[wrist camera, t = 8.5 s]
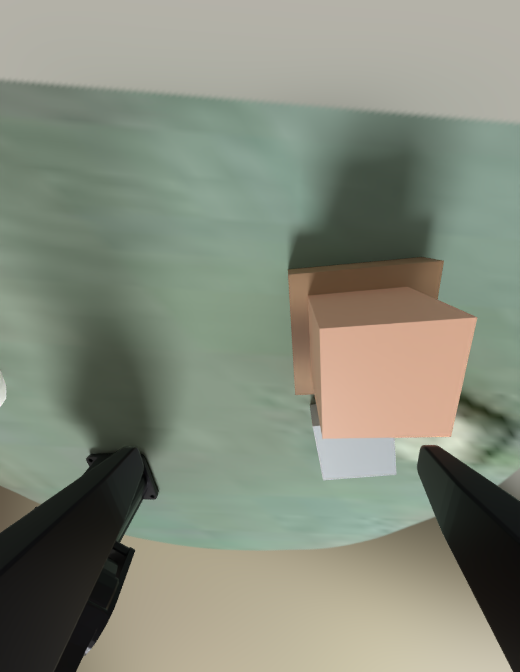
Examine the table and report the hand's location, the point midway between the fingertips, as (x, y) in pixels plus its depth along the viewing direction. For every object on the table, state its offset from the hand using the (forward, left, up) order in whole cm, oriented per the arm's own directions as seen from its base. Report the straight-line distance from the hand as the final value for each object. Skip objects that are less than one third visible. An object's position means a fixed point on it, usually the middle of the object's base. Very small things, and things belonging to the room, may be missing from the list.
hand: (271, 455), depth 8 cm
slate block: (-10, -5, -13) cm, 17 cm away
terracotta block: (0, -5, -10) cm, 11 cm away
